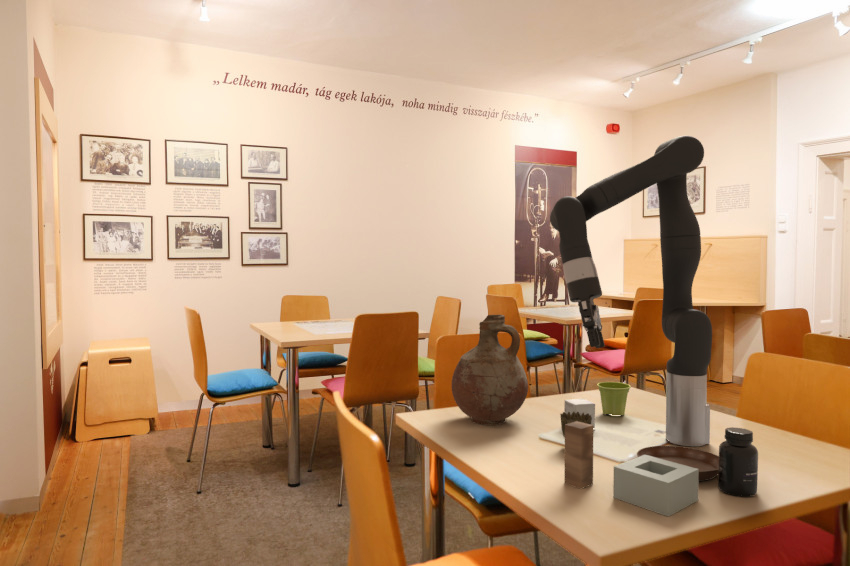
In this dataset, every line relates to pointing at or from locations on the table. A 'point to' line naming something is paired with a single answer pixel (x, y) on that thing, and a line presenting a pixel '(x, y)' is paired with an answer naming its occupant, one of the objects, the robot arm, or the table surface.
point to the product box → (580, 408)
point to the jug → (490, 376)
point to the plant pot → (613, 397)
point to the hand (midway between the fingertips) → (597, 347)
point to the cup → (574, 419)
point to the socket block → (656, 484)
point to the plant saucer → (686, 458)
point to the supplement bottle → (738, 463)
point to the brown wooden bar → (578, 454)
